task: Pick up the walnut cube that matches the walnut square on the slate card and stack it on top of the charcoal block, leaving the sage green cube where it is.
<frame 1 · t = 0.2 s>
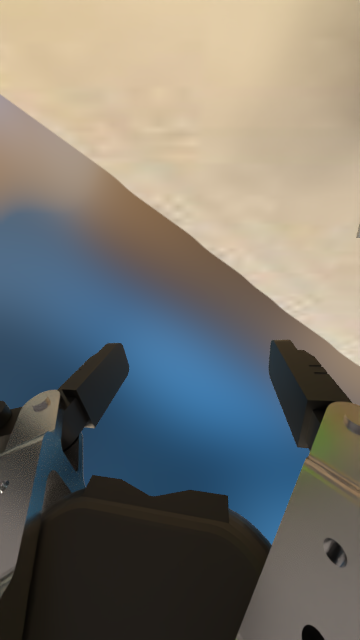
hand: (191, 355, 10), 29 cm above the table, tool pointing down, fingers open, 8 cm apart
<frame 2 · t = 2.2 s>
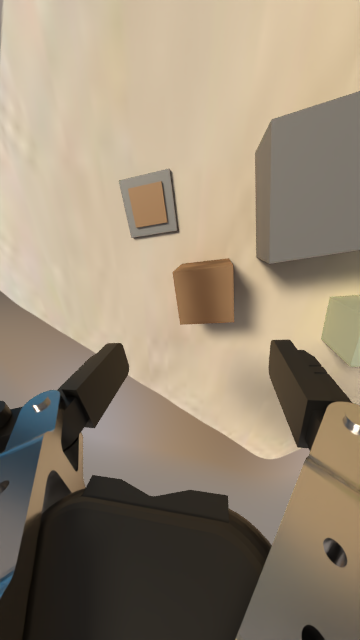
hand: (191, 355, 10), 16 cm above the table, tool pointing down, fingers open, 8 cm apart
base block: (306, 199, 19), on the table
walnut cube: (206, 284, 24), on the table
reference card: (149, 206, 21), on the table
sage cube: (351, 317, 23), on the table
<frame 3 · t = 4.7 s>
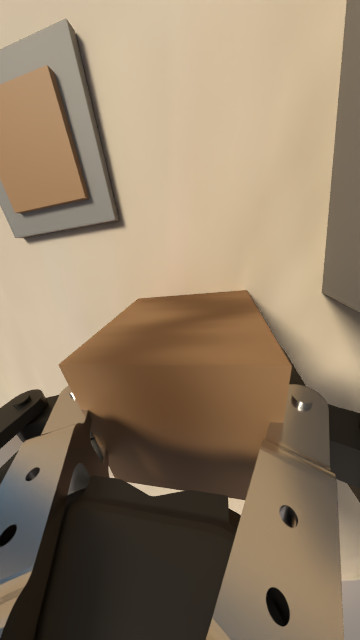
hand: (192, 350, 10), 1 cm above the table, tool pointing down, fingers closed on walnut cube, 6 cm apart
walnut cube: (194, 341, 11), on the table, touching gripper
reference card: (42, 157, 8), on the table
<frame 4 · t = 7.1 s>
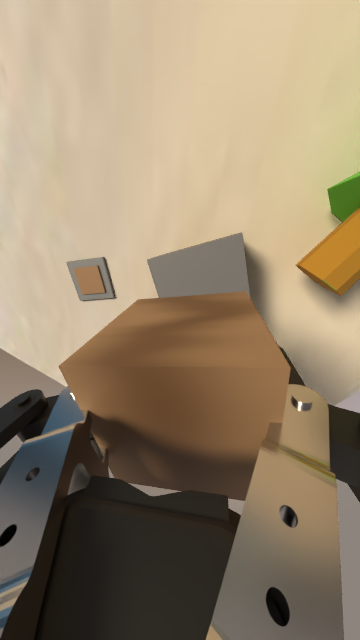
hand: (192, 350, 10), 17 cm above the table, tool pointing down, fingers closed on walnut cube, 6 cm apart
base block: (203, 282, 25), on the table
walnut cube: (194, 342, 11), point 16 cm above the table, touching gripper
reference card: (92, 279, 28), on the table
when the fingers open (8 cm above the table, at t = 9.9 s): walnut cube drops 2 cm, resting on base block.
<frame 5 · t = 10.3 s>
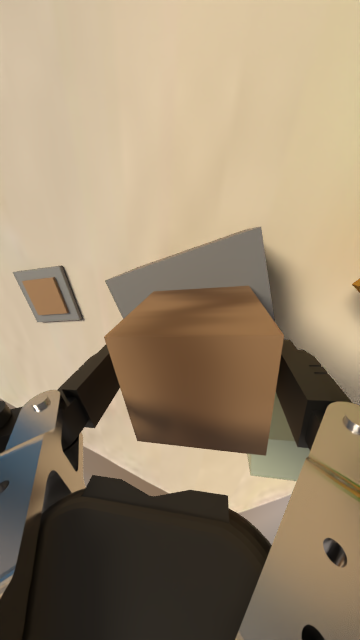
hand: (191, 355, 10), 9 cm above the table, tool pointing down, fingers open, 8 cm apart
base block: (201, 301, 18), on the table, touching walnut cube
walnut cube: (201, 330, 13), point 6 cm above the table, touching base block
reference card: (50, 295, 20), on the table
sage cube: (268, 406, 22), on the table
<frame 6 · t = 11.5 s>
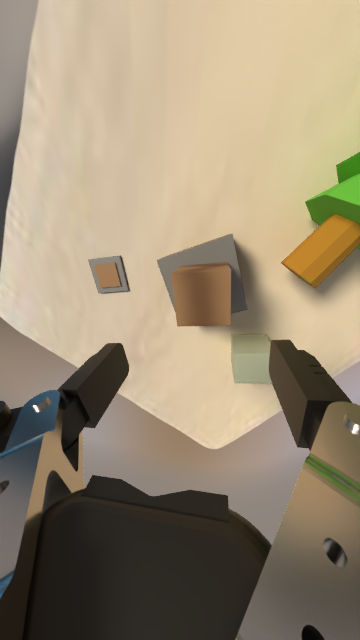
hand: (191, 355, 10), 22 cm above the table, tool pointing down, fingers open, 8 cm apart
base block: (204, 276, 30), on the table, touching walnut cube
walnut cube: (204, 286, 25), point 6 cm above the table, touching base block
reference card: (109, 275, 32), on the table
sage cube: (247, 348, 34), on the table
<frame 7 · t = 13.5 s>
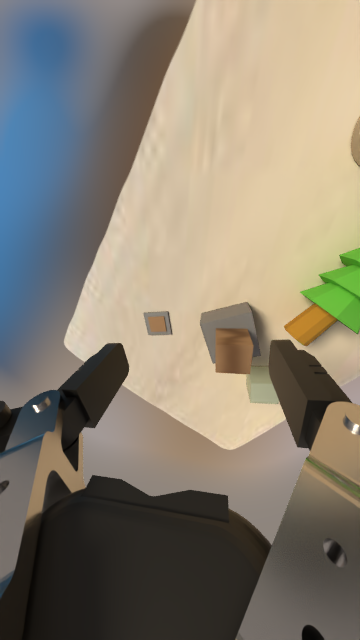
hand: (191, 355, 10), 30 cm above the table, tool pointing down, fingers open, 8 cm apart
base block: (228, 326, 42), on the table, touching walnut cube
walnut cube: (230, 341, 36), point 6 cm above the table, touching base block
decorative tree: (353, 268, 33), on the table
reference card: (158, 323, 44), on the table
sage cube: (258, 375, 46), on the table
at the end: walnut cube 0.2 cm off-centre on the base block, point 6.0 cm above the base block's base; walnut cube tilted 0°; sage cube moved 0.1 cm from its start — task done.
